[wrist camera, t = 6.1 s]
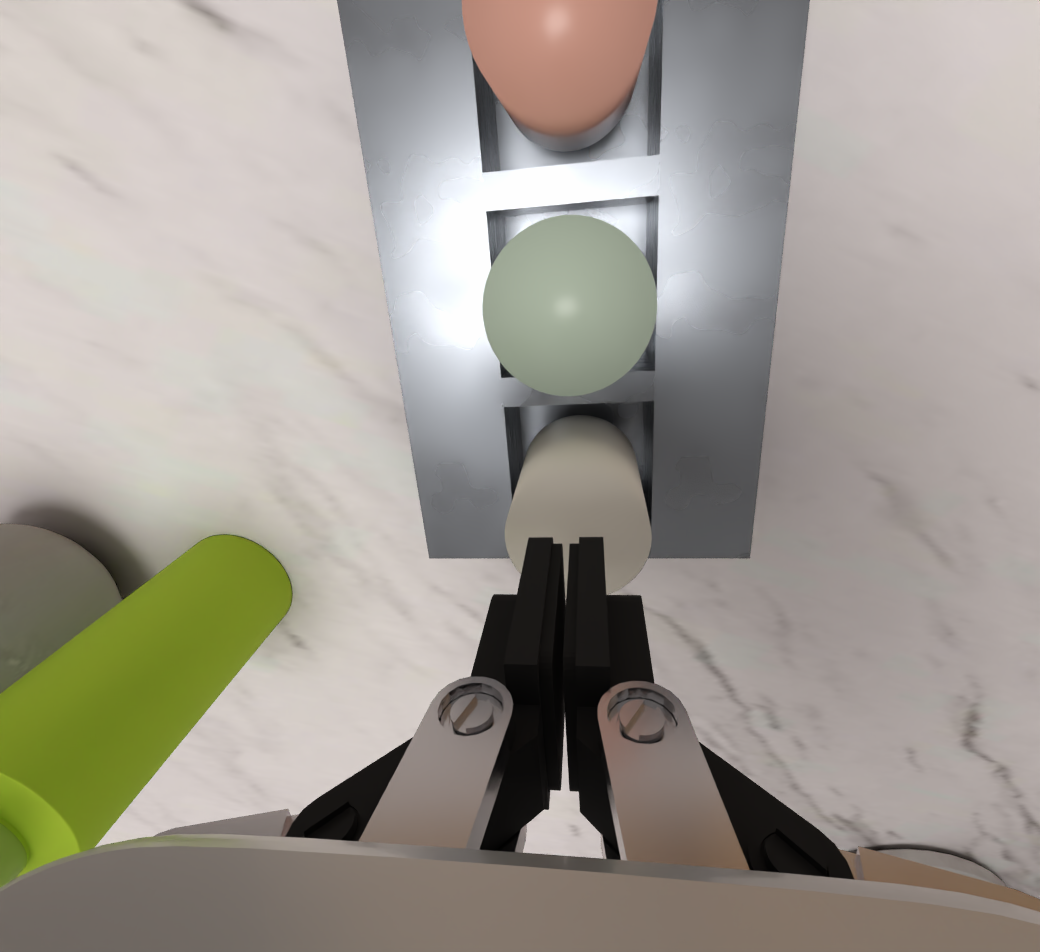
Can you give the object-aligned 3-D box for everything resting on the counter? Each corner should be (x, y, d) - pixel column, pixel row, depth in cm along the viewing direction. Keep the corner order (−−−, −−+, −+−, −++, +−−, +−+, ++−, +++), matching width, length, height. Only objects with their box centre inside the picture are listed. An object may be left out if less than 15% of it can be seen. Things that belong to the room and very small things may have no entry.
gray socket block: (767, -66, 16) (828, -173, 12) (721, 503, 23) (749, 558, 19) (385, -7, 18) (323, -82, 14) (455, 507, 25) (429, 558, 21)
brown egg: (638, -29, 14) (662, -155, 10) (637, 144, 16) (656, 105, 11) (493, -7, 15) (450, -116, 10) (505, 158, 16) (472, 126, 12)
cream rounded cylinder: (637, 412, 18) (653, 469, 14) (636, 517, 20) (650, 600, 15) (520, 417, 19) (498, 473, 14) (528, 518, 20) (510, 598, 16)
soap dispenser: (325, 579, 28) (-177, 1218, 10) (252, 643, 30) (-259, 1249, 12) (236, 501, 27) (-540, 1068, 8) (167, 574, 29) (-549, 1136, 11)
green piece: (639, 216, 16) (659, 206, 11) (638, 353, 17) (655, 392, 13) (505, 228, 16) (473, 223, 12) (516, 359, 18) (491, 399, 13)
